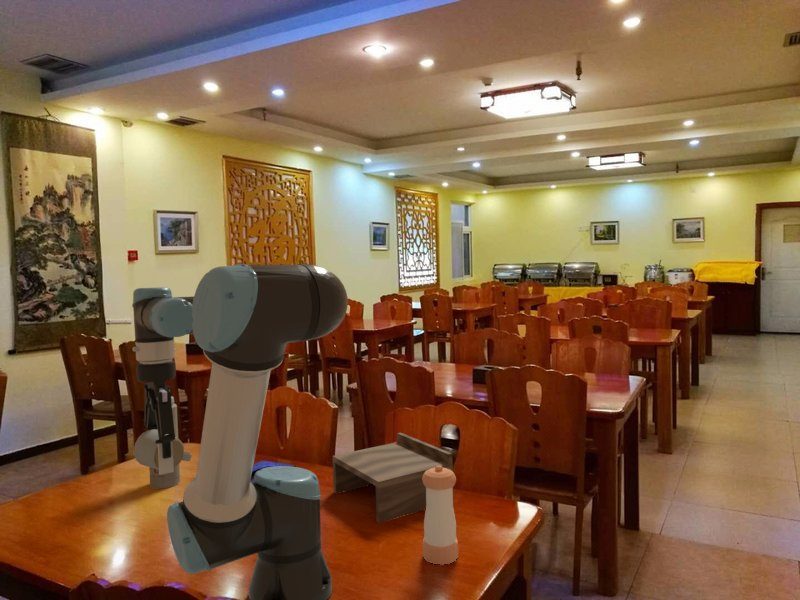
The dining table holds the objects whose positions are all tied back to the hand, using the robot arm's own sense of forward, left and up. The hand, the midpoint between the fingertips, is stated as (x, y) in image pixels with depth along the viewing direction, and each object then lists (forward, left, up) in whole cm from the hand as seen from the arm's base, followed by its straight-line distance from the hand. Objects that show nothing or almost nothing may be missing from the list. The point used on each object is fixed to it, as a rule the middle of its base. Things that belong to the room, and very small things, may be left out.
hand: (160, 466), depth 124 cm
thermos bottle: (+45, -9, -19) cm, 50 cm away
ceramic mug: (+1, -1, -1) cm, 2 cm away
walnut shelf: (-2, -56, -19) cm, 60 cm away
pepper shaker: (-35, -47, -20) cm, 62 cm away
